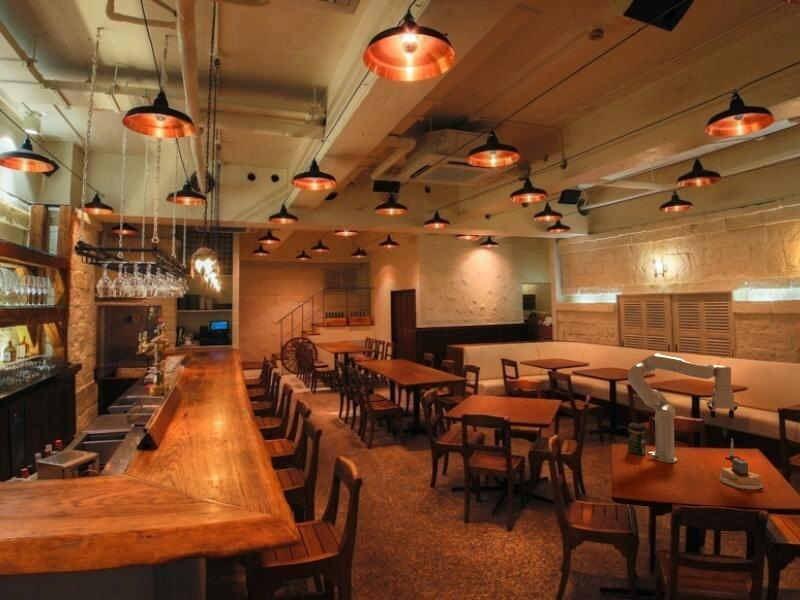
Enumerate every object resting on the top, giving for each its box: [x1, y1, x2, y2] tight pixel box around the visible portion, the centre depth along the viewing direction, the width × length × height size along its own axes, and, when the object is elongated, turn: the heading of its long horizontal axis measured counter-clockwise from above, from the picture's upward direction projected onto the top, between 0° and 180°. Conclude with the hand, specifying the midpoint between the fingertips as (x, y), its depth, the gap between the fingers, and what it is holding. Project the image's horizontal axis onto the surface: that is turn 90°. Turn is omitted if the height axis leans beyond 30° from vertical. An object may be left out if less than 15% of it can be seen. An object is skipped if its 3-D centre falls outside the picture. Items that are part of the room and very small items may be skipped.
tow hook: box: [724, 438, 745, 461], centre depth 273 cm, size 8×13×9 cm
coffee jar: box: [627, 422, 647, 456], centre depth 284 cm, size 10×8×19 cm
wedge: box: [731, 458, 749, 475], centre depth 238 cm, size 4×6×10 cm, turn 177°
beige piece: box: [719, 467, 763, 491], centre depth 238 cm, size 18×18×6 cm
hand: (722, 417), depth 256 cm, fingers open, 9 cm apart
